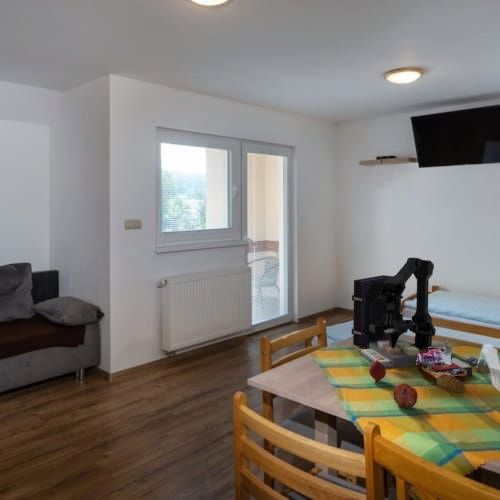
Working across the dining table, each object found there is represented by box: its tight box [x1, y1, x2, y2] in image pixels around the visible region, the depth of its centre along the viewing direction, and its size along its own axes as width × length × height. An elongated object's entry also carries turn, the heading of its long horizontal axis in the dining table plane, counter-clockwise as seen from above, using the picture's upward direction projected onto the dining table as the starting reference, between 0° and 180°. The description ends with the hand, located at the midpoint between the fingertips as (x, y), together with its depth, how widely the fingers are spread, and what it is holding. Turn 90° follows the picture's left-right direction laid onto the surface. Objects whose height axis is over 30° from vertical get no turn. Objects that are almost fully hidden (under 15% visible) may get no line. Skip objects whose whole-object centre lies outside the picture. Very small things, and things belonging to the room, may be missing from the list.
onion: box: [368, 360, 387, 382], centre depth 168 cm, size 6×6×8 cm
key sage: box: [395, 341, 411, 351], centre depth 194 cm, size 4×4×3 cm
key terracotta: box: [385, 346, 400, 354], centre depth 190 cm, size 4×4×3 cm
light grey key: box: [378, 340, 390, 349], centre depth 196 cm, size 4×4×3 cm
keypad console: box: [357, 342, 418, 369], centre depth 193 cm, size 19×21×4 cm
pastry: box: [436, 374, 467, 393], centre depth 162 cm, size 9×7×4 cm
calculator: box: [431, 357, 473, 377], centre depth 177 cm, size 11×4×15 cm
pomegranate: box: [392, 382, 419, 409], centre depth 148 cm, size 7×7×10 cm
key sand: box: [403, 345, 420, 355], centre depth 188 cm, size 4×4×3 cm
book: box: [351, 274, 393, 348], centre depth 218 cm, size 24×6×30 cm, turn 130°
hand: (392, 347), depth 190 cm, fingers closed, pressing on key terracotta
